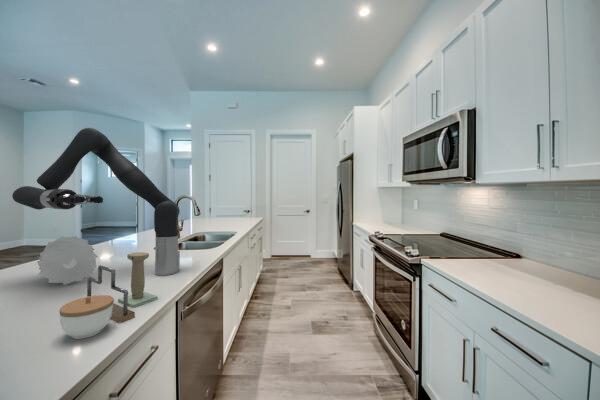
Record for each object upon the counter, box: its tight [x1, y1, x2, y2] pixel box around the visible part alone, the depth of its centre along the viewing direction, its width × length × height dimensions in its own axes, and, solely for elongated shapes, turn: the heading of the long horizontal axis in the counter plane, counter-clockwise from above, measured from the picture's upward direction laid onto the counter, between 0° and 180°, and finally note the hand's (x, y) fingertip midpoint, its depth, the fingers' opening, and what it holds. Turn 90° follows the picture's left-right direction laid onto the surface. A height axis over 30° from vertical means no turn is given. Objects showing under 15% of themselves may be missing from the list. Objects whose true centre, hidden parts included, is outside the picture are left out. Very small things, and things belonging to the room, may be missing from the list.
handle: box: [127, 251, 150, 299], centre depth 84 cm, size 5×6×15 cm
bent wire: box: [86, 265, 136, 324], centre depth 76 cm, size 4×24×14 cm, turn 62°
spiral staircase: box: [36, 235, 99, 286], centre depth 103 cm, size 18×18×25 cm
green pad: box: [117, 291, 158, 309], centre depth 84 cm, size 8×9×1 cm
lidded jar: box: [59, 294, 115, 340], centre depth 64 cm, size 11×11×9 cm
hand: (88, 200), depth 87 cm, fingers open, 8 cm apart
